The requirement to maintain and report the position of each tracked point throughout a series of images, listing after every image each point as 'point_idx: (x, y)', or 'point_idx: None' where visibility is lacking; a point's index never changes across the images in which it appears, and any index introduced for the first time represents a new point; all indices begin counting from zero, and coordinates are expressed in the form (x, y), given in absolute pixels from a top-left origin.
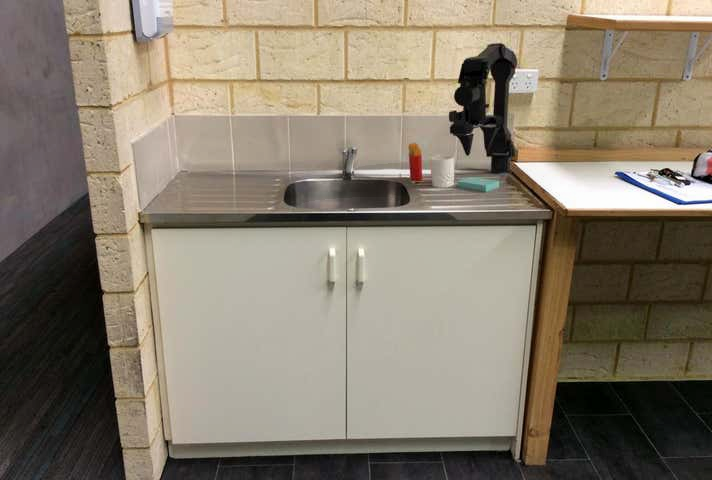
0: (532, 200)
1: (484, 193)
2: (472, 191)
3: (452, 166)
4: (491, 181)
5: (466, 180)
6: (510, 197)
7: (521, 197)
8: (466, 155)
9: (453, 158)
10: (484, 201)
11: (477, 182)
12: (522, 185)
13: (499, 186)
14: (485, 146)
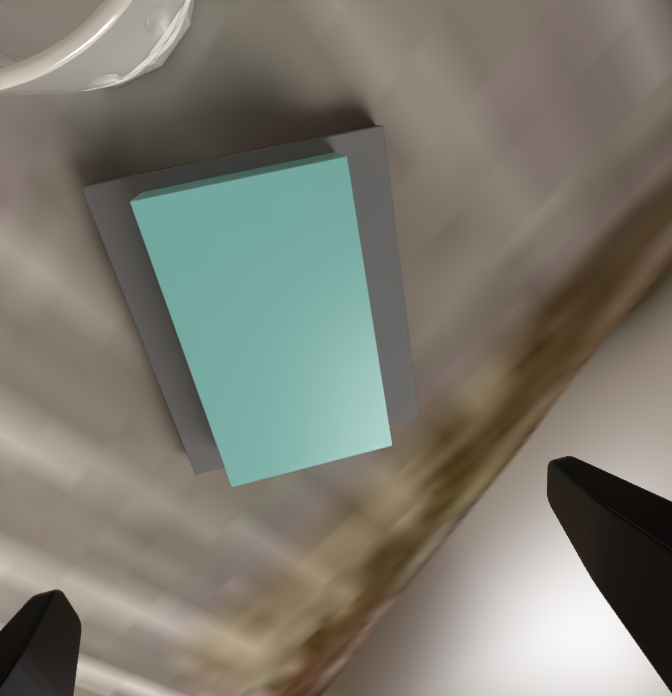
0: (344, 629)
1: (203, 471)
2: (165, 386)
3: (74, 85)
4: (347, 420)
5: (215, 248)
6: (308, 546)
7: (348, 573)
8: (40, 602)
9: (67, 65)
10: (137, 533)
11: (247, 374)
12: (551, 404)
13: (398, 402)
14: (580, 509)
